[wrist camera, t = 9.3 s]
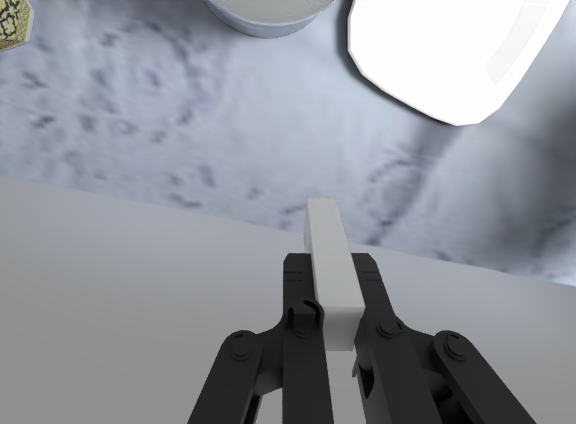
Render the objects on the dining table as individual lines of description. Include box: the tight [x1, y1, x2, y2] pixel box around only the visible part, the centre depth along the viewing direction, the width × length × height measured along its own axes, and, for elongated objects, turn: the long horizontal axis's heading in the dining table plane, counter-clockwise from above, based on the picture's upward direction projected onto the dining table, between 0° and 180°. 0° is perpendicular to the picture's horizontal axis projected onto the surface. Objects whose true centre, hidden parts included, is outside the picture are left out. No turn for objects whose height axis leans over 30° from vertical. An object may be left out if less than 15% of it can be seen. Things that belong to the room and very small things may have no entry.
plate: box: [347, 0, 569, 126], centre depth 29 cm, size 22×22×2 cm
